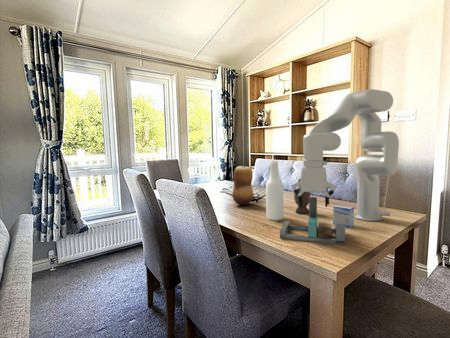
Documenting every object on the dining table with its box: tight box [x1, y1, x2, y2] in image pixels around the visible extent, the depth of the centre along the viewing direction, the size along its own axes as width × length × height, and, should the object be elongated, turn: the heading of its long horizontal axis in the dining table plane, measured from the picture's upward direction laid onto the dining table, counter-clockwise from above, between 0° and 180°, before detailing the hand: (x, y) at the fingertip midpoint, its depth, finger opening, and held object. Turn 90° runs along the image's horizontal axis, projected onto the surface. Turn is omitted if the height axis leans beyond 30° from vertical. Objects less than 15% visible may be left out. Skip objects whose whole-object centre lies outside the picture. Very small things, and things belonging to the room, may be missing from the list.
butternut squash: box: [231, 165, 254, 206], centre depth 159 cm, size 14×13×25 cm
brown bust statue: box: [293, 178, 311, 215], centre depth 135 cm, size 12×9×20 cm
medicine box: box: [332, 204, 355, 228], centre depth 115 cm, size 8×4×9 cm, turn 45°
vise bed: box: [279, 214, 346, 246], centre depth 103 cm, size 24×14×8 cm, turn 68°
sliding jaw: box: [307, 196, 318, 238], centre depth 102 cm, size 3×14×14 cm, turn 158°
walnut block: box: [317, 222, 333, 239], centre depth 101 cm, size 5×5×5 cm
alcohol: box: [265, 159, 285, 221], centre depth 128 cm, size 9×9×30 cm
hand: (313, 205), depth 102 cm, fingers open, 9 cm apart
